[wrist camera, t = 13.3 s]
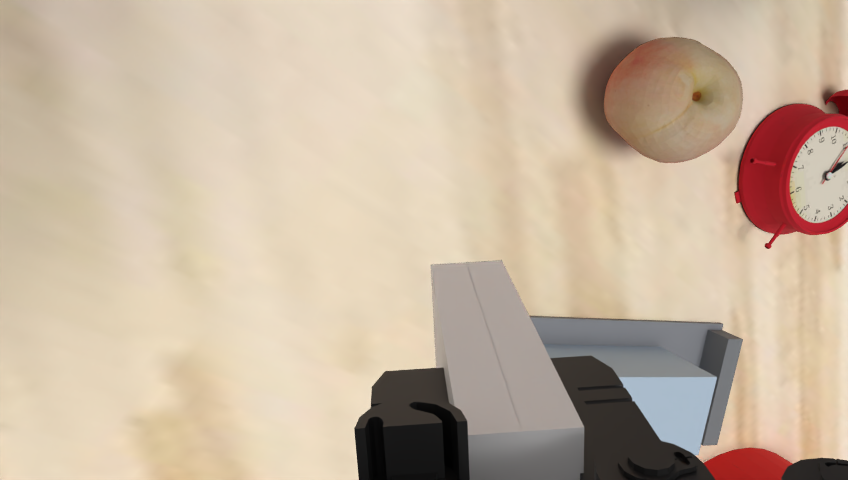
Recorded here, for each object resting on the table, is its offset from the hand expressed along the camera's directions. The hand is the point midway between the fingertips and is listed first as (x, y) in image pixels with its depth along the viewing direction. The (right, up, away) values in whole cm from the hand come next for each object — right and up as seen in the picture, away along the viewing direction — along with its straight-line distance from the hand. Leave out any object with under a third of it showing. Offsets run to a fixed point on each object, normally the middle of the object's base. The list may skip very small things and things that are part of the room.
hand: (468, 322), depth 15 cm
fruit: (+14, +12, +34) cm, 39 cm away
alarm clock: (+30, +8, +42) cm, 52 cm away
